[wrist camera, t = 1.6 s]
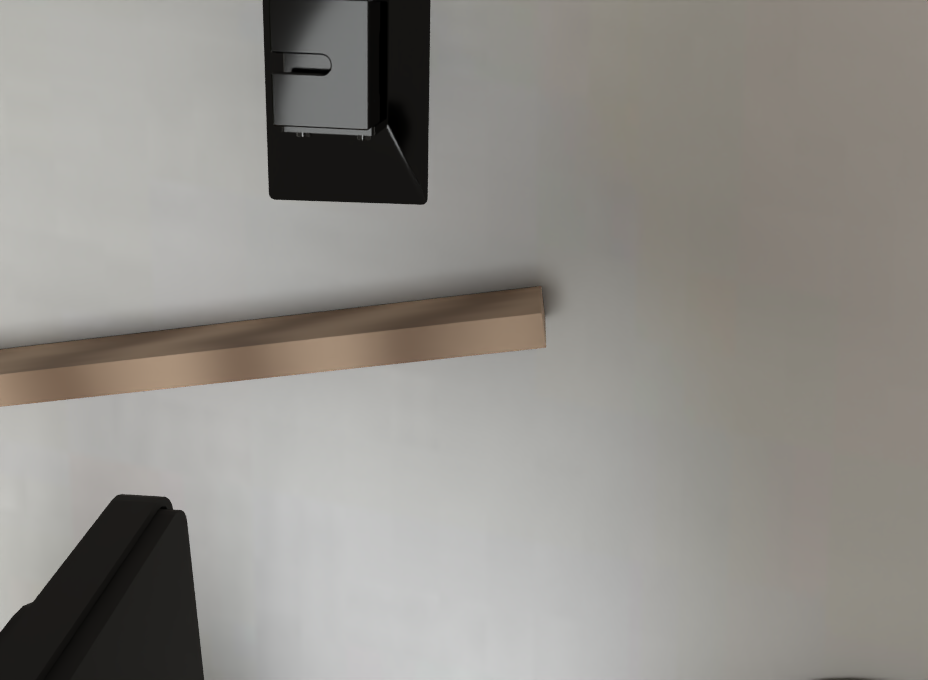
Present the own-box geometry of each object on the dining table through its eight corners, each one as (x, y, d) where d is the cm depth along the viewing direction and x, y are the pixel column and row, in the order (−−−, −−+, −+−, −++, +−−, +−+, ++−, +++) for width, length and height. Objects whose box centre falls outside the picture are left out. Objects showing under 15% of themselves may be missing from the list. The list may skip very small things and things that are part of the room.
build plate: (239, -154, 28) (184, -189, 23) (470, -147, 27) (458, -180, 23) (255, 232, 32) (211, 265, 27) (455, 243, 31) (443, 278, 27)
